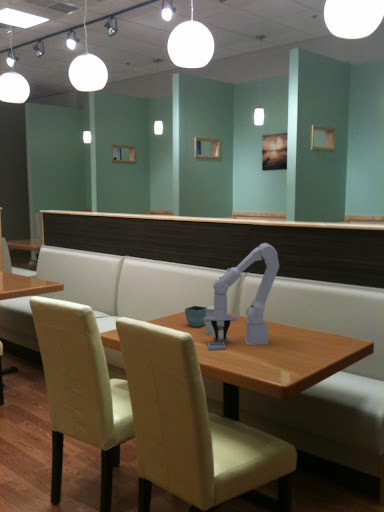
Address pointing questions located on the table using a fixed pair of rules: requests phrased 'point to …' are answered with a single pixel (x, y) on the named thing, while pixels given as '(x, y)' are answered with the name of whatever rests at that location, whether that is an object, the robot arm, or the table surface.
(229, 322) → the robot arm
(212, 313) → the supplement box
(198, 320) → the flower pot
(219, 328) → the fuse
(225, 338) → the socket
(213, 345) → the tray
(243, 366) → the table surface
